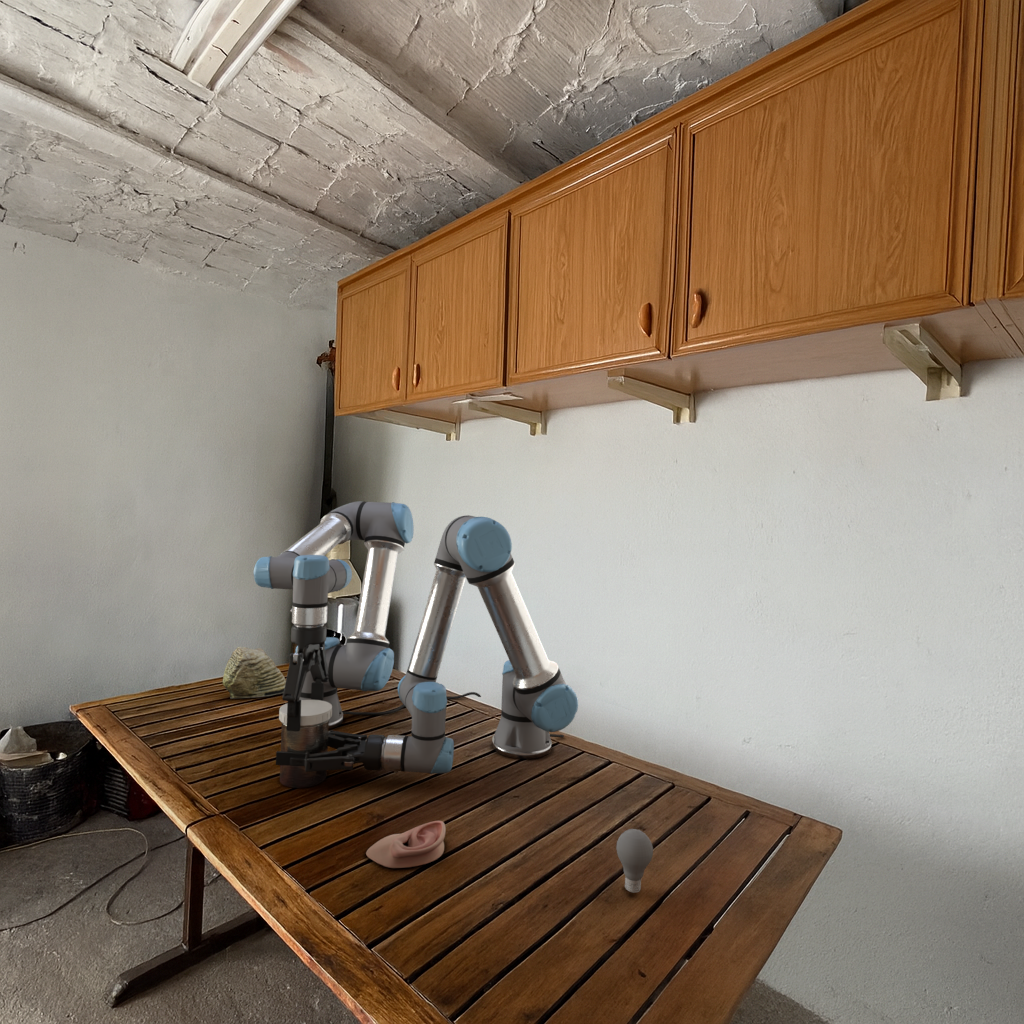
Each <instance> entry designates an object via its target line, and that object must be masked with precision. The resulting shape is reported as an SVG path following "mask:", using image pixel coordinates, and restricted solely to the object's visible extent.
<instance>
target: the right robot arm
mask: <svg viewBox="0 0 1024 1024" xmlns="http://www.w3.org/2000/svg"><path fill="white" fill-rule="evenodd" d="M512 549H513V543H512V538H511V535H510V533H509V531H508V530H507V528H506V527H505V526H504V525H503V524H502V523H500V522H499V521H497V520H495V519H493V518H492V517H488V516H474V515H468V514H467V515H461V516H458V517H456V518H454V519H452V520H451V521H450V522H449V523H447V526H446V527H445V528H444V530H443V532H442V535H441V538H440V541H439V544H438V548H437V551H436V555H435V559H434V561H433V565H434V568H435V573H434V578H433V580H432V583H431V587H430V591H429V594H428V597H427V601H426V605H425V608H424V611H423V615H422V618H421V622H420V625H419V628H418V632H417V636H416V639H415V643H414V645H413V649H412V652H411V656H410V660H409V663H408V666H407V670H406V673H405V675H404V676H403V677H401V679H400V680H399V682H398V684H397V694H398V698H399V700H400V702H401V703H402V705H403V704H404V705H405V708H406V709H407V711H408V713H409V715H410V716H411V732H410V733H411V735H398V734H397V735H396V734H388V735H387V736H386V735H385V734H369V735H367V734H355V733H350V732H344V731H339V730H332V729H329V730H328V748H331V749H333V750H328V752H322V753H316V754H310V755H309V752H308V751H307V752H285V751H281V750H276V752H275V766H280V765H288V766H305V771H306V772H313V771H327V772H328V771H339V770H340V771H341V770H342V771H343V770H344V771H353V769H354V764H355V765H356V764H363V768H364V769H365V770H366V771H378V772H380V771H381V770H383V771H385V772H394V773H395V774H398V773H399V772H400V773H401V772H404V773H405V772H406V773H419V774H420V773H421V774H430V775H433V774H434V775H435V774H448V773H450V772H451V770H452V768H453V765H454V764H453V763H454V755H455V754H454V753H455V741H454V739H453V738H452V737H447V736H446V718H447V705H448V699H447V697H448V696H447V688H446V686H445V685H444V684H443V683H440V682H437V679H438V675H439V672H440V669H441V665H442V662H443V658H444V655H445V651H446V648H447V645H448V641H449V637H450V634H451V631H452V628H453V624H454V621H455V617H456V613H457V610H458V607H459V603H460V600H461V597H462V593H463V591H464V586H465V583H466V580H467V583H468V584H469V585H471V586H474V587H476V588H477V589H478V591H479V594H480V596H481V599H482V601H483V603H484V605H485V608H486V610H487V612H488V614H489V617H490V619H491V621H492V624H493V626H494V629H495V631H496V633H497V635H498V638H499V640H500V642H501V644H502V646H503V650H504V652H505V654H506V655H507V658H508V660H506V661H505V662H504V663H503V668H502V673H501V675H502V681H501V682H502V683H501V685H502V686H501V710H500V719H499V721H498V724H497V727H496V730H495V732H494V735H492V739H491V740H492V741H491V742H492V747H493V748H492V749H493V750H494V751H495V752H496V753H498V754H499V755H502V756H505V757H508V758H512V759H520V760H531V759H539V758H543V757H545V756H547V755H549V754H550V753H551V751H552V739H551V738H564V737H565V735H564V734H555V733H556V732H559V731H562V730H564V729H566V728H567V727H569V726H570V724H571V723H572V722H573V720H574V719H575V717H576V714H577V713H578V709H579V699H578V695H577V693H576V692H575V690H574V689H573V687H571V686H570V685H569V684H567V683H566V681H565V679H564V676H563V673H562V672H561V669H560V667H559V664H558V663H557V662H556V661H553V660H550V659H549V658H548V655H547V653H546V650H545V648H544V645H543V643H542V641H541V639H540V636H539V634H538V632H537V629H536V627H535V624H534V621H533V620H532V616H531V615H530V612H529V610H528V607H527V605H526V603H525V601H524V598H523V596H522V594H521V591H520V589H519V586H518V585H517V581H516V579H515V577H514V575H513V569H514V568H515V565H516V563H515V561H514V558H513V555H512Z"/></svg>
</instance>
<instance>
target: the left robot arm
mask: <svg viewBox="0 0 1024 1024" xmlns="http://www.w3.org/2000/svg"><path fill="white" fill-rule="evenodd" d="M414 527H415V526H414V519H413V514H412V510H411V509H410V507H409V506H408V505H407V504H405V503H399V502H394V501H393V502H392V501H391V502H383V501H364V500H361V501H360V500H358V501H352V502H349V503H346V504H343V505H341V506H338V507H336V508H335V509H332V510H330V511H329V512H328V513H327V514H325V515H324V516H323V517H322V518H321V519H320V522H319V524H318V525H317V526H315V527H314V528H313V529H311V530H310V531H309V532H307V533H306V534H305V535H303V536H302V537H301V538H299V539H297V540H296V542H294V543H292V544H291V545H290V546H289V547H288V548H286V549H285V550H283V551H282V552H281V553H280V554H278V555H277V556H272V555H269V556H262V557H260V558H258V560H257V561H256V562H255V564H254V567H253V579H254V582H255V584H256V585H257V586H258V587H261V588H267V589H271V590H273V589H274V590H291V591H292V603H291V605H292V606H291V607H292V608H291V609H290V613H291V623H292V626H291V629H290V633H291V634H290V641H291V643H292V644H294V645H296V647H295V652H290V654H289V664H288V670H287V675H286V678H285V680H286V683H285V688H284V692H283V693H282V701H283V702H287V703H288V704H287V703H286V704H287V731H300V721H301V700H321V701H326V702H328V703H330V704H331V705H332V716H331V718H330V719H329V728H328V731H330V730H332V729H335V728H337V727H339V726H340V725H342V723H343V722H344V715H351V716H384V715H390V714H393V713H397V712H398V711H400V710H402V709H404V708H406V706H405V705H404V704H403V703H402V705H400V706H398V707H396V708H395V709H392V710H391V709H390V710H386V711H375V712H373V711H371V712H370V711H343V709H342V706H341V702H340V699H339V695H338V689H342V690H343V689H345V690H351V691H353V690H354V691H362V692H379V691H381V690H382V689H384V687H385V686H386V685H387V684H388V682H389V680H390V677H391V675H392V673H393V670H394V663H395V652H394V650H393V649H391V648H390V641H389V639H387V637H386V632H387V626H388V619H389V613H390V606H391V600H392V593H393V586H394V581H395V575H396V569H397V568H396V567H397V563H398V562H397V561H398V556H399V554H401V553H403V551H405V545H406V544H410V543H411V542H412V541H413V538H414ZM348 541H364V542H363V545H364V547H365V549H367V555H366V561H365V568H364V572H363V578H362V584H361V590H360V595H359V601H358V607H357V612H356V618H355V625H354V631H353V632H352V633H351V634H350V635H349V636H347V638H346V643H345V644H341V641H340V639H339V638H338V637H334V636H331V637H330V636H327V625H326V624H327V622H328V597H329V594H331V593H334V592H335V593H336V592H339V591H341V590H343V589H345V588H346V587H348V585H349V584H350V583H351V581H352V578H353V571H352V568H351V566H350V565H349V563H348V562H346V561H345V560H344V559H343V560H342V559H339V558H338V559H334V558H331V559H329V557H328V556H327V554H328V553H329V552H331V551H332V550H334V548H335V547H336V546H338V545H342V544H344V543H347V542H348ZM472 695H473V696H476V697H478V698H481V697H482V695H481V694H480V693H478V692H475V691H470V692H466V693H464V694H460V695H454V696H446V697H447V700H457V699H458V700H459V699H463V698H465V697H468V696H472Z"/></svg>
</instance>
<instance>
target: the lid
mask: <svg viewBox="0 0 1024 1024" xmlns="http://www.w3.org/2000/svg"><path fill="white" fill-rule="evenodd" d="M287 704H288V702H287V703H285V704H284V703H283V705H281V706H280V708H279V710H278V720H279V721H280V722H281V724H282V723H285V724H287ZM331 716H332V705H331V704H330V703H328V702H326V701H321V700H301V721H300V726H306V725H314V724H319V723H322V722H325V721H327V720H329V719H330V718H331Z"/></svg>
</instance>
